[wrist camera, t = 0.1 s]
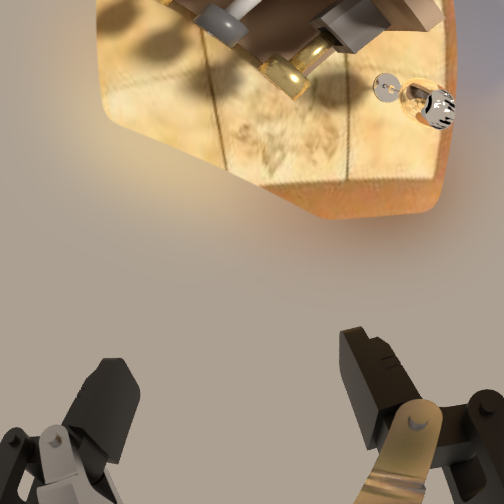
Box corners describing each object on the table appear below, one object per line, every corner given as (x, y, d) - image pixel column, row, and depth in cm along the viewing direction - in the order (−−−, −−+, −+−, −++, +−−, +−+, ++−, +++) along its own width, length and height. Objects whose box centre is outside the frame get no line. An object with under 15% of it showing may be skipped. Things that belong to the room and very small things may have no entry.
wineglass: (410, 96, 30) (464, 121, 21) (381, 113, 32) (430, 143, 23) (393, 62, 27) (449, 76, 18) (362, 79, 29) (412, 97, 20)
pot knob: (194, 24, 20) (187, 19, 17) (248, -25, 17) (251, -38, 13) (230, 50, 22) (230, 49, 19) (284, 1, 19) (294, -7, 15)
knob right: (255, 67, 24) (259, 70, 20) (307, 21, 20) (320, 16, 17) (288, 97, 26) (299, 105, 23) (338, 52, 23) (356, 54, 19)
